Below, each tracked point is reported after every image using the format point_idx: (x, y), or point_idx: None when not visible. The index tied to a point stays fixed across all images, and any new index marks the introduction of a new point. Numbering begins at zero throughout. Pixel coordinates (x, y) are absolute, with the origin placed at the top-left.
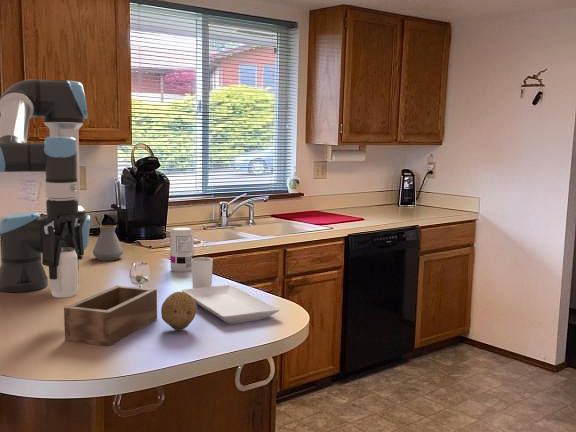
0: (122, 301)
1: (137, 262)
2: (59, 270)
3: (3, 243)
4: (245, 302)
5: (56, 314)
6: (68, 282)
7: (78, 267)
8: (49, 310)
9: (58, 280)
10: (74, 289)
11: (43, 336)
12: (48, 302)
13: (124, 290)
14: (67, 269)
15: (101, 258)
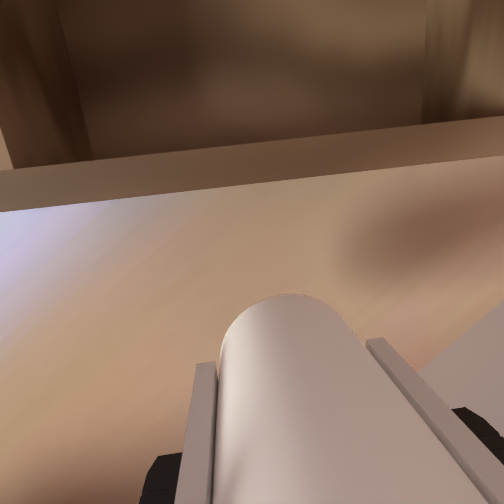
0: (61, 147)
1: None
2: (490, 458)
3: None
4: None
5: None
6: (358, 347)
7: (145, 486)
8: (183, 425)
9: (427, 391)
10: (299, 308)
11: (413, 253)
12: (116, 485)
13: (11, 122)
14: (425, 432)
15: None
